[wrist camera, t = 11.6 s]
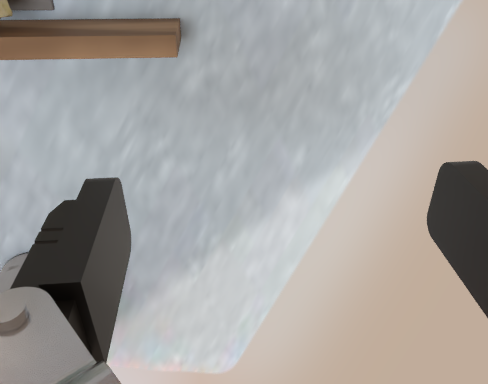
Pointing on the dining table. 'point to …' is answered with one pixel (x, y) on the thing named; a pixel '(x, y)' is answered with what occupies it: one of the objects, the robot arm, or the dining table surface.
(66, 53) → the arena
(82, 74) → the dining table surface
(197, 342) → the dining table surface
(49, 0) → the mat
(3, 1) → the plank
